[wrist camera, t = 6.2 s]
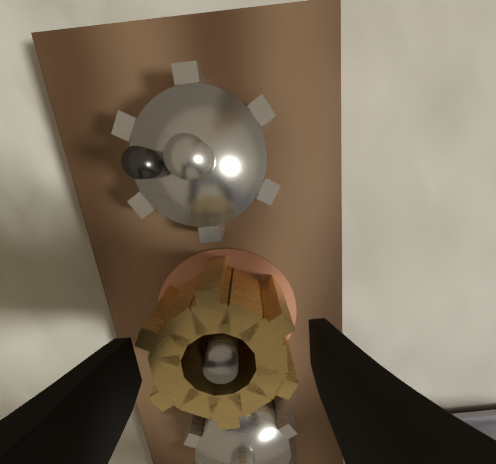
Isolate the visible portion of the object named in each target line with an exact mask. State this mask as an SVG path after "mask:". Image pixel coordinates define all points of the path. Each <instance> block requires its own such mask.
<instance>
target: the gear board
mask: <svg viewBox="0 0 496 464" xmlns="http://www.w3.org/2000/svg"><path fill="white" fill-rule="evenodd" d="M31 34H32V37H33V41H34V45H35V48H36V52H37V55H38V59H39V62H40V66H41V69H42V73H43V76H44V80H45V83H46V87H47V90H48V94H49V97H50V101H51V104H52V108H53V111H54V115H55V119H56V122H57V126H58V129H59V133H60V136H61V140H62V143H63V147H64V150H65V154H66V157H67V161H68V164H69V168H70V171H71V175H72V178H73V182H74V186H75V189H76V193H77V196H78V200H79V203H80V207H81V210H82V214H83V217H84V221H85V224H86V228H87V231H88V235H89V238H90V242H91V245H92V249H93V252H94V256H95V260H96V263H97V267H98V270H99V274H100V277H101V281H102V284H103V288H104V291H105V295H106V298H107V302H108V305H109V309H110V312H111V316H112V319H113V323H114V327H115V330H116V334H117V337H118V338H127V337H131V340H132V344H133V348H134V351H135V355H136V359H137V363H138V366H139V370H140V374H141V378H142V383H141V386H140V390H139V393H138V396H137V399H136V404H137V408H138V411H139V415H140V418H141V422H142V425H143V429H144V432H145V436H146V439H147V443H148V446H149V450H150V453H151V457H152V460H153V464H194V459H195V450H196V448H193V447H189V446H186V445H184V440H185V436H186V431H187V427H188V422H189V418H190V414H191V413H188V412H185V411H182V410H179V409H180V407H179V408H176V407H175V406H174V405H173V406H172V407H170V408H168V409H167V410H165V411H164V412H162V411H161V410H160V409H159V408H158V407H157V406H156V405H154V404H153V403H152V402H151V401H150V400H149V399H148V397H149V395H150V393H151V390H152V388H153V386H154V381H153V377H152V373H151V369H150V365H149V362H148V357H149V356H148V354H149V351H146V350H143V349H140V348H138V347H135V346H134V345H135V343H136V340H137V337H138V335H139V332H140V330H141V327H142V326H143V324H144V323H145V321H146V320H147V318H148V317H149V315H150V314H151V312H152V311H153V309H154V308H155V306H156V305H157V303H158V302H159V300H160V299H161V297H162V296H163V294H164V293H165V291H166V290H167V288H168V287H169V285H170V286H172V287H175V288H178V289H181V288H182V286H183V285H184V284H185V283H187V282H188V281H189V280H191V279H192V278H194V277H195V276H197V275H198V274H199V273H201V272H202V271H203V269H204V266H205V264H206V262H207V259H208V258H212V257H221V256H226V259H227V267H232V270H233V268H237V269H239V270H242V271H244V272H247V273H249V274H252V275H254V276H257V277H258V279H259V278H260V279H261V281H263V280H265V279H266V278H268V277H269V276H271V275H272V276H273V277H274V278H275V280H276V281H277V282H278V283H279V285H280V286H281V287H282V290H283V293H284V296H285V299H286V303H287V306H288V309H289V312H290V315H291V318H292V321H293V324H294V327H295V331H293V332H292V333H290V334H288V335H287V340H288V344H289V348H290V351H291V355H292V359H293V363H294V367H295V371H296V375H297V379H298V383H299V384H298V386H297V388H296V389H295V391H294V393H293V394H292V396H291V397H290V399H289V401H290V403H291V404H292V408H293V413H294V418H295V423H296V428H297V433H298V434H297V435H295V436H294V438H295V443H296V449H297V454H298V459H299V464H343V455H342V453H341V450H340V447H339V445H338V442H337V440H336V437H335V435H334V432H333V430H332V427H331V424H330V422H329V419H328V417H327V414H326V412H325V409H324V406H323V404H322V401H321V399H320V396H319V393H318V390H317V386H316V383H315V379H314V375H313V372H312V368H311V364H310V342H309V320H308V319H318V318H325V319H327V320H328V321H329V322H330V323H331V324H332V325H333V326H335V327H336V328H337V329H338V330H339V331H340V332H341V333H342V207H341V7H340V0H309V1H300V2H292V3H283V4H275V5H266V6H258V7H249V8H240V9H232V10H223V11H215V12H206V13H197V14H189V15H180V16H172V17H163V18H154V19H146V20H137V21H129V22H120V23H112V24H103V25H94V26H86V27H77V28H69V29H60V30H51V31H43V32H34V33H31ZM188 61H197V63H198V65H199V67H200V70H201V72H202V74H203V77H204V79H205V84H208V85H211V86H215V87H218V88H220V89H223V90H225V91H227V92H229V93H230V94H232V95H234V96H235V97H236V98H237V99H239V100H240V101H241V102H242V103H243V104H244V105H245V106H246V107H247V105H249V104H250V103H251V102H252V101H254V100H255V99H256V98H257V97H259V96H260V95H261V94H263V96H264V97H265V99H266V101H267V102H268V104H269V105H270V107H271V108H272V110H273V112H274V113H275V115H276V117H275V118H274V120H273V122H272V124H271V125H270V126H269V127H267V128H266V129H265V130H264V131H262V133H263V137H264V140H265V144H266V151H267V166H266V173H265V177H264V178H267V179H269V180H271V181H273V182H275V183H278V184H280V185H281V186H280V188H279V190H278V192H277V194H276V196H275V198H274V200H273V203H272V205H269V204H266V203H264V202H262V201H260V200H257V199H256V198H255V199H254V201H253V202H252V203H251V204H250V205H249V207H248V208H247V209H246V210H245V211H243V212H242V213H241V214H240V215H238V216H237V217H235V218H233V219H232V220H230V221H227V222H225V223H224V229H225V232H224V235H223V238H222V241H217V242H207V243H200V239H199V232H198V227H195V226H188V225H184V224H181V223H178V222H175V221H173V220H171V219H169V218H167V217H166V216H164V215H163V214H161V213H160V212H157V213H155V214H153V215H150V216H148V217H146V218H144V219H141V217H140V216H139V215H138V214H137V213H136V212H135V210H134V209H133V208H132V207H131V206H130V205H129V203H128V202H127V201H128V200H129V199H131V198H132V197H133V196H134V195H136V194H137V193H138V192H139V191H140V189H139V188H138V186H137V184H136V181H135V179H134V178H132V177H130V176H129V175H127V174H126V173H125V171H124V170H123V168H122V165H121V157H122V154H123V152H124V151H125V150H126V149H127V148H128V147H129V145H130V142H128V141H126V140H124V139H121V138H119V137H117V136H115V135H112V134H111V133H112V129H113V126H114V122H115V119H116V115H117V112H118V110H119V111H122V112H124V113H126V114H128V115H130V116H132V117H135V118H138V116H139V114H140V112H141V111H142V110H143V108H144V107H145V106H146V105H147V104H148V103H149V102H150V101H151V100H152V99H153V98H154V97H155V96H157V95H158V94H159V93H161V92H163V91H165V90H167V89H168V88H171V87H174V86H175V84H174V78H173V72H172V66H171V63H179V62H188ZM278 397H279V396H276V395H275V397H274V399H273V400H275V399H276V398H278Z"/></svg>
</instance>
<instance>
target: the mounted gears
mask: <svg viewBox="0 0 496 464" xmlns="http://www.w3.org/2000/svg"><path fill="white" fill-rule="evenodd" d="M171 66H172V72H173V78H174V84H175V86H174V87H171V88H168V89H167V90H165V91H163V92H161V93H159V94H158V95H157V96H155V97H154V98H153V99H152V100H151V101H150V102H149V103H148V104H147V105H146V106H145V107H144V108H143V110H142V111H141V112H140V114H139V116H138V118H135V117H132V116H130V115H128V114H126V113H124V112H122V111H119V110H118V112H117V115H116V119H115V122H114V126H113V129H112V133H111V134H112V135H115V136H117V137H119V138H121V139H124V140H126V141H128V142H130V145H129V147H128V148H127V149H126V150H125V151H124V152H123V154H122V157H121V165H122V168H123V170H124V171H125V173H126V174H127V175H129V176H130V177H132V178H134V179H135V181H136V184H137V186H138V188H139V189H140V191H139V192H138V193H137V194H136V195H134V196H133V197H132V198H131V199H129V200H128V201H127V202H128V203H129V205H130V206H131V207H132V208H133V209H134V210H135V212H136V213H137V214H138V215H139V216H140V217H141V219H144V218H146V217H148V216H150V215H153V214H155V213H157V212H160V213H161V214H163V215H164V216H166V217H167V218H169V219H171V220H173V221H175V222H178V223H181V224H184V225H188V226H195V227H198V232H199V239H200V243H207V242H217V241H222V238H223V235H224V232H225V229H224V223H225V222H227V221H230V220H232V219H233V218H235V217H237V216H238V215H240V214H241V213H242V212H243V211H245V210H246V209H247V208H248V207H249V205H250V204H251V203H252V202H253V201H254V199H255V198H256V199H257V200H260V201H262V202H264V203H266V204H269V205H272V203H273V200H274V198H275V196H276V194H277V192H278V190H279V188H280V186H281V185H280V184H278V183H275V182H273V181H271V180H269V179H267V178H264V177H265V173H266V166H267V151H266V144H265V140H264V137H263V133H262V131H264V130H265V129H266V128H267V127H269V126H270V125H271V124H272V122H273V120H274V118H275V117H276V115H275V113H274V112H273V110H272V108H271V107H270V105H269V104H268V102H267V101H266V99H265V97H264V96H263V94H261V95H260V96H259V97H257V98H256V99H255V100H254V101H252V102H251V103H250V104H249V105H247V107H246V106H245V105H244V104H243V103H242V102H241V101H240V100H239V99H237V98H236V97H235V96H234V95H232V94H230V93H229V92H227V91H225V90H223V89H220V88H218V87H215V86H211V85H208V84H205V79H204V77H203V74H202V72H201V70H200V67H199V65H198V63H197V61H188V62H179V63H171ZM238 353H239V338H236V337H234V336H231V335H228V334H226V333H218V334H210V337H209V342H208V346H207V351H206V356H205V360H204V365H203V373H204V376H205V377H206V378H207V379H208V380H209V381H211V382H213V383H216V384H226V383H229V382H231V381H232V380H233V379H234V378H235V377H236V376H237V373H238ZM297 434H298V433H297V428H296V423H295V418H294V413H293V408H292V404H291V403H290V401H289V400H288V399H285V398H282V397H278V398H276V399H275V400H273V399H272V401H270V402H269V403H267V404H265V405H263V406H262V407H260V408H258V409H257V410H255V411H253V412H251V413H250V414H248V415H246V416H245V415H244V414H243V417H240V428H236V429H225V430H219V428H218V422H217V419H211V417H210V419H207V418H204V417H201V416H198V415H195V414H190V418H189V422H188V427H187V431H186V436H185V440H184V445H186V446H189V447H193V448H196V450H195V459H194V464H299V459H298V454H297V449H296V443H295V438H294V436H295V435H297Z"/></svg>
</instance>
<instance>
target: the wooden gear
mask: <svg viewBox="0 0 496 464" xmlns="http://www.w3.org/2000/svg"><path fill="white" fill-rule="evenodd" d="M293 331H295V327H294V324H293V321H292V318H291V315H290V312H289V309H288V306H287V303H286V299H285V296H284V293H283V290H282V287H281V286H280V285H279V283H278V282H277V281H276V280H275V278H274V277H273V276H272V275H271V276H269V277H268V278H266V279H265V280H263V281H261V279H260V278H259V279H258V277H257V276H254V275H252V274H249V273H247V272H244V271H242V270H239V269H237V268H233V270H232V267H227V259H226V256H221V257H212V258H208V259H207V262H206V264H205V266H204V269H203V271H202V272H201V273H199V274H198V275H197V276H195V277H194V278H192V279H191V280H189V281H188V282H187V283H185V284H184V285H183V286H182V288H181V289H178V288H175V287H172V286H170V285H169V287H168V288H167V290H166V291H165V293H164V294H163V296H162V297H161V299H160V300H159V302H158V303H157V305H156V306H155V308H154V309H153V311H152V312H151V314H150V315H149V317H148V318H147V320H146V321H145V323H144V324H143V326H142V327H141V330H140V332H139V335H138V337H137V340H136V343H135V345H134V346H135V347H138V348H140V349H143V350H146V351H149V354H148V356H149V357H148V362H149V365H150V369H151V373H152V377H153V381H154V386H153V388H152V390H151V393H150V395H149V397H148V399H149V400H150V401H151V402H152V403H153V404H154V405H156V406H157V407H158V408H159V409H160V410H161V411H162V412H164V411H165V410H167V409H168V408H170V407H172V406H173V405H174V406H175V407H176V408H179V407H180V409H179V410H182V411H185V412H188V413H191V414H195V415H198V416H201V417H204V418H207V419H210V417H211V419H217V422H218V428H219V430H225V429H236V428H240V417H243V414H244V415H245V416H246V415H248V414H250V413H251V412H253V411H255V410H257V409H258V408H260V407H262V406H263V405H265V404H267V403H269V402H270V401H272V399H274V397H275V395H276V396H279V397H282V398H285V399H288V400H289V399H290V397H291V396H292V394H293V393H294V391H295V389H296V388H297V386H298V384H299V383H298V379H297V375H296V371H295V367H294V363H293V359H292V355H291V351H290V348H289V344H288V340H287V335H288V334H290V333H292V332H293ZM218 333H226V334H228V335H231V336H234V337H236V338H239V353H238V373H237V376H236V377H235V378H234V379H233V380H232V381H231V382H229V383H226V384H216V383H213V382H211V381H209V380H208V379H207V378H206V377H205V376H204V373H203V365H204V360H205V356H206V351H207V346H208V342H209V337H210V334H218Z"/></svg>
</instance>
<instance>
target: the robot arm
mask: <svg viewBox="0 0 496 464" xmlns="http://www.w3.org/2000/svg"><path fill="white" fill-rule="evenodd" d="M308 320H309V342H310V364H311V368H312V372H313V375H314V379H315V383H316V386H317V390H318V393H319V396H320V399H321V401H322V404H323V406H324V409H325V412H326V414H327V417H328V419H329V422H330V424H331V427H332V430H333V432H334V435H335V437H336V440H337V442H338V445H339V447H340V450H341V453H342V455H343V458H344V460H345V463H346V464H496V409H495V410H484V411H474V412H463V413H452V414H451V413H449V412H448V411H446V410H444V409H443V408H441V407H440V406H438V405H437V404H435V403H434V402H432V401H431V400H429V399H428V398H426V397H425V396H423V395H421V394H420V393H418V392H417V391H415V390H414V389H413V388H411V387H410V386H408V385H407V384H405V383H404V382H403V381H401V380H400V379H398V378H397V377H396V376H394V375H393V374H392V373H390V372H389V371H388V370H386V369H385V368H384V367H382V366H381V365H380V364H378V363H377V362H376V361H375V360H373V359H372V358H371V357H370V356H368V355H367V354H366V353H365V352H364V351H362V350H361V349H360V348H359V347H358V346H356V345H355V344H354V343H353V342H352V341H351V340H349V339H348V338H347V337H346V336H345V335H344V334H342V333H341V332H340V331H339V330H338V329H337V328H336V327H335V326H333V325H332V324H331V323H330V322H329V321H328V320H327V319H325V318H318V319H308ZM141 383H142V378H141V374H140V370H139V366H138V363H137V359H136V355H135V351H134V348H133V344H132V340H131V337H127V338H117V339H114V340H112V341H111V342H109V343H108V344H106V345H105V346H103V347H102V348H100V349H99V350H98V351H96V352H95V353H94V354H92V355H91V356H89V357H88V358H87V359H85V360H84V361H83V362H81V363H80V364H79V365H77V366H76V367H75V368H73V369H72V370H71V371H69V372H68V373H67V374H65V375H64V376H62V377H61V378H60V379H58V380H57V381H56V382H54V383H53V384H52V385H50V386H49V387H47V388H46V389H45V390H43V391H42V392H40V393H39V394H37V395H36V396H35V397H33V398H32V399H30V400H29V401H28V402H26V403H25V404H23V405H22V406H20V407H19V408H18V409H16V410H15V411H13V412H12V413H11V414H9V415H8V416H6V417H5V418H3V419H2V420H0V464H108V462H109V460H110V458H111V456H112V454H113V452H114V449H115V447H116V445H117V443H118V441H119V439H120V437H121V434H122V432H123V430H124V428H125V426H126V424H127V421H128V419H129V417H130V415H131V412H132V410H133V407H134V404H135V402H136V399H137V396H138V393H139V390H140V386H141Z"/></svg>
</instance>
